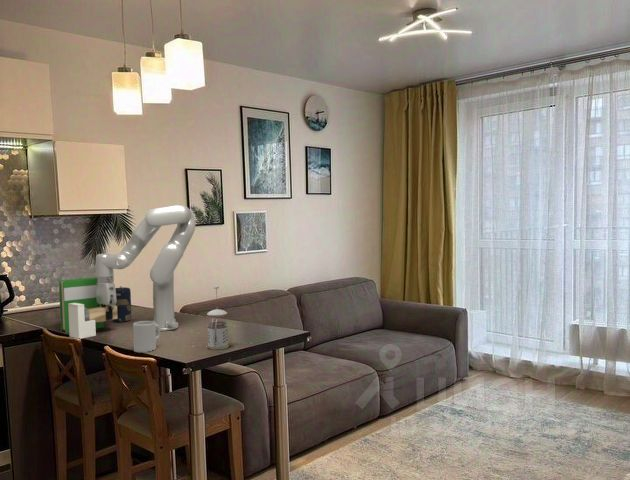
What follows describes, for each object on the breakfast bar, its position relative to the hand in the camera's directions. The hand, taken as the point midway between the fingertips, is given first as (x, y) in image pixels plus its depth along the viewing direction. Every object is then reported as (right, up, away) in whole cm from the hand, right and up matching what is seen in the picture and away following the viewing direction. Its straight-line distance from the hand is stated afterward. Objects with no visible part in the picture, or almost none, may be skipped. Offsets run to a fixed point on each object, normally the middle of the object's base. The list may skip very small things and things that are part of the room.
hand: (106, 318), depth 254 cm
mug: (+31, -7, -36) cm, 47 cm away
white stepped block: (-8, -7, -10) cm, 14 cm away
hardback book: (-14, -6, +8) cm, 17 cm away
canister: (-2, -5, +26) cm, 26 cm away
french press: (+58, -7, -35) cm, 69 cm away
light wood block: (-2, -1, -3) cm, 4 cm away
